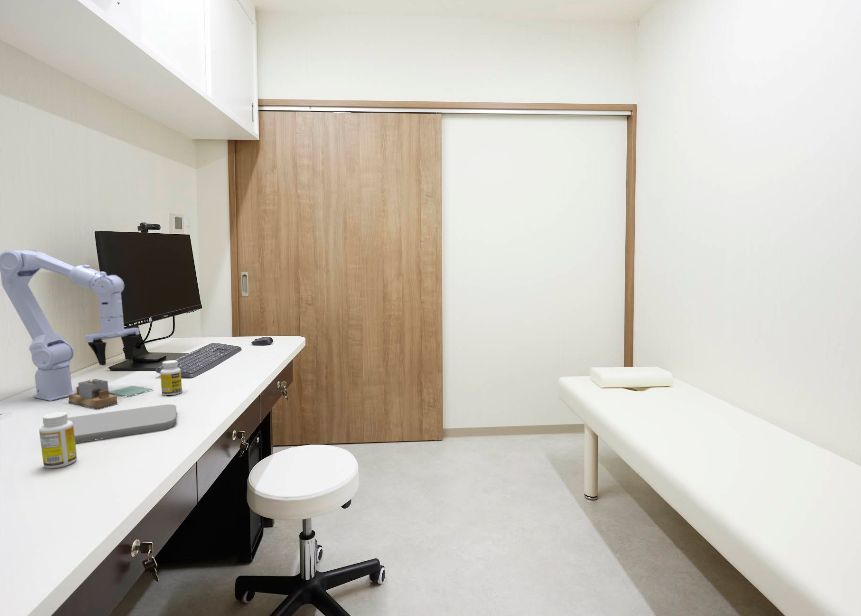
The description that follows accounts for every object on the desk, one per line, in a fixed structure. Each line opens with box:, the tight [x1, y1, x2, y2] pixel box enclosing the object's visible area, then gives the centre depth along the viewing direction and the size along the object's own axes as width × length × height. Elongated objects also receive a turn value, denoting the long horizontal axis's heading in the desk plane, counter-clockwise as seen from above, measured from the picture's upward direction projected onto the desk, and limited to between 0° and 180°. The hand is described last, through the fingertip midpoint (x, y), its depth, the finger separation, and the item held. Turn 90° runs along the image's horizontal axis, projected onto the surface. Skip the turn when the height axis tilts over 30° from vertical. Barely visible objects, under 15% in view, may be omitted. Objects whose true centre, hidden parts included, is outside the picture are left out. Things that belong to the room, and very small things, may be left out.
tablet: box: [68, 404, 177, 444], centre depth 124 cm, size 16×26×2 cm, turn 116°
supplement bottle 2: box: [160, 359, 183, 396], centre depth 152 cm, size 5×5×10 cm
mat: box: [109, 385, 153, 398], centre depth 156 cm, size 10×8×1 cm
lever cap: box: [77, 378, 109, 399], centre depth 143 cm, size 6×4×5 cm
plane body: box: [68, 385, 119, 410], centre depth 144 cm, size 14×6×4 cm, turn 62°
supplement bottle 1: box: [39, 411, 78, 469], centre depth 103 cm, size 6×6×10 cm
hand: (115, 362), depth 152 cm, fingers open, 7 cm apart
